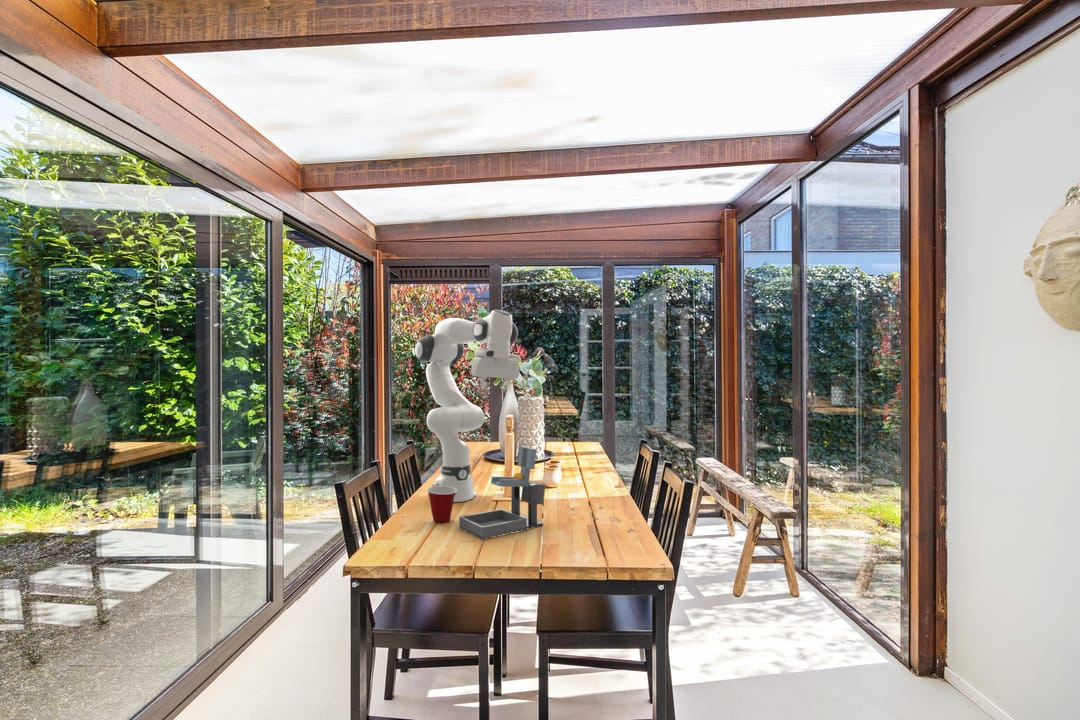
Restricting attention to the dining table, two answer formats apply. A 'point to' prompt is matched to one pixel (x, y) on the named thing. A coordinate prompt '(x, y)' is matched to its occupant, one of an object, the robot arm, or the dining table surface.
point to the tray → (492, 523)
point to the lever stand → (531, 505)
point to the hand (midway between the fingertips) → (494, 389)
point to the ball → (518, 476)
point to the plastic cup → (441, 502)
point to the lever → (526, 463)
